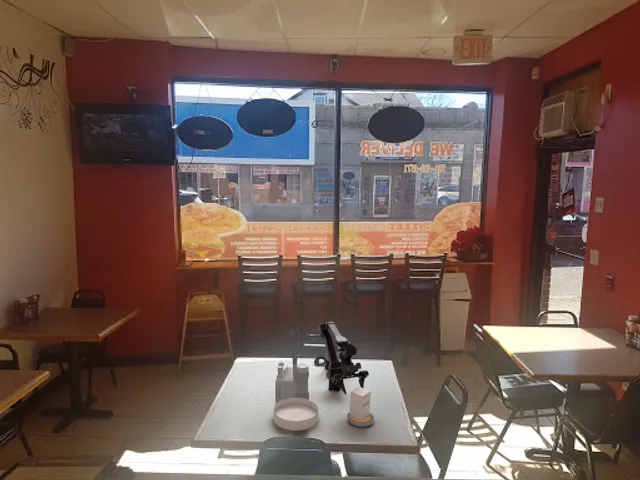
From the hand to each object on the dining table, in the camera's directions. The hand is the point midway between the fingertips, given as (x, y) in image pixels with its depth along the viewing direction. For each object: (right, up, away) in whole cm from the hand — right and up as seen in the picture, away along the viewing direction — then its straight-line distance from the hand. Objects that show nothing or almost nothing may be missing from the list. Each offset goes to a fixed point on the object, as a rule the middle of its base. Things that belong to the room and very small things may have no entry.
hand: (354, 393), depth 229 cm
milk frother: (-13, -2, +53) cm, 55 cm away
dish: (-29, -11, -5) cm, 31 cm away
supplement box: (+2, -9, -5) cm, 11 cm away
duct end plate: (+2, -11, -6) cm, 13 cm away
